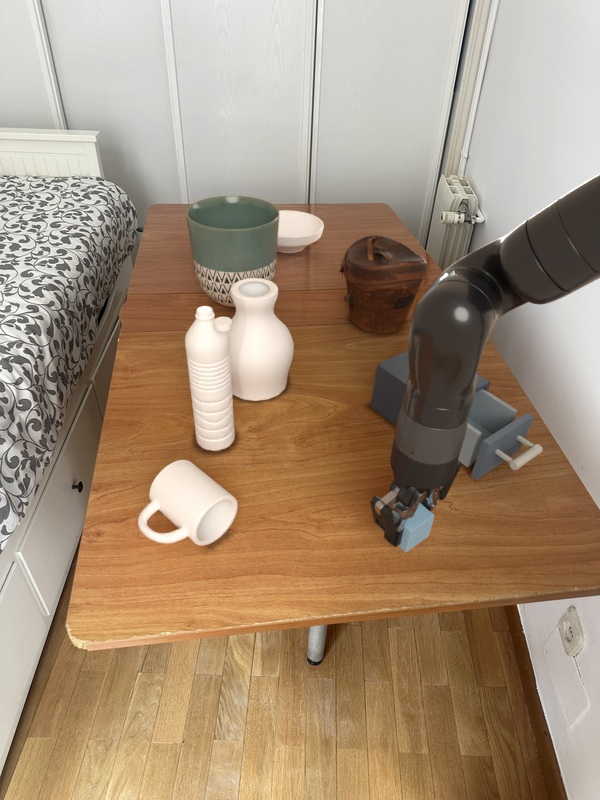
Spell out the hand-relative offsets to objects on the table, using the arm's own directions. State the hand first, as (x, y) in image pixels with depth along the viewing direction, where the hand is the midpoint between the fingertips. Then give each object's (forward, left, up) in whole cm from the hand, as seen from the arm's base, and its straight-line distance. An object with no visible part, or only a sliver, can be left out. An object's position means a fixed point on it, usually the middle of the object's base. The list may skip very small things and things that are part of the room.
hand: (405, 531), depth 71 cm
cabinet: (-14, -28, -5) cm, 32 cm away
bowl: (-1, -103, -5) cm, 103 cm away
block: (0, 0, 0) cm, 0 cm away
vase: (+15, -42, -5) cm, 45 cm away
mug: (+29, -9, -5) cm, 31 cm away
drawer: (-19, -17, -4) cm, 26 cm away
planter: (+16, -74, -5) cm, 76 cm away
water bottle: (+23, -26, -5) cm, 35 cm away
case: (-15, -62, -5) cm, 64 cm away
